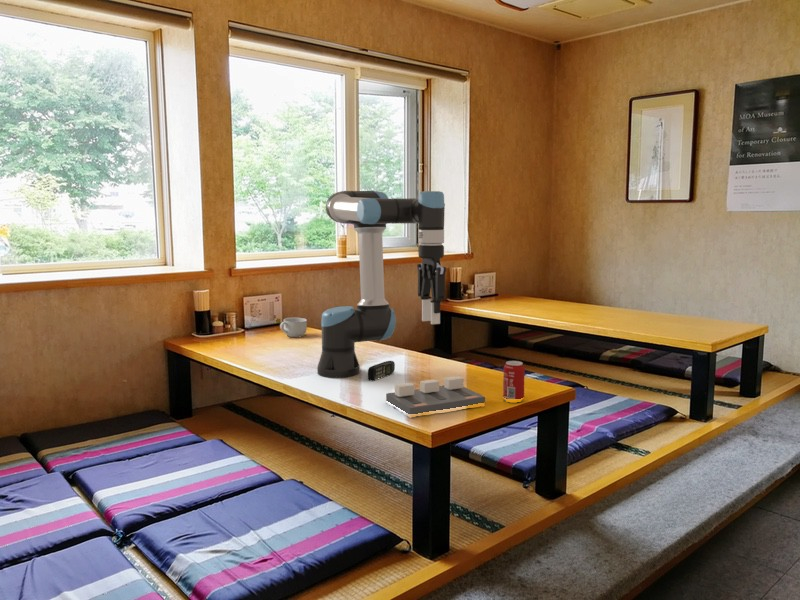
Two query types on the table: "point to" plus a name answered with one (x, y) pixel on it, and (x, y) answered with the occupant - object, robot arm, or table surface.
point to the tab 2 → (429, 386)
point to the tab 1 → (404, 389)
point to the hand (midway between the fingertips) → (430, 322)
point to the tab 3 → (453, 382)
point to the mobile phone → (381, 370)
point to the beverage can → (513, 380)
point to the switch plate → (435, 400)
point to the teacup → (294, 326)
